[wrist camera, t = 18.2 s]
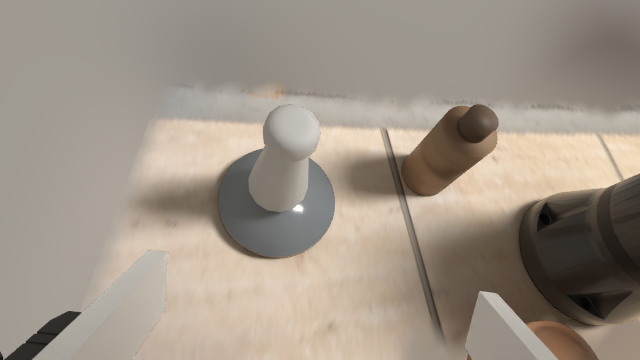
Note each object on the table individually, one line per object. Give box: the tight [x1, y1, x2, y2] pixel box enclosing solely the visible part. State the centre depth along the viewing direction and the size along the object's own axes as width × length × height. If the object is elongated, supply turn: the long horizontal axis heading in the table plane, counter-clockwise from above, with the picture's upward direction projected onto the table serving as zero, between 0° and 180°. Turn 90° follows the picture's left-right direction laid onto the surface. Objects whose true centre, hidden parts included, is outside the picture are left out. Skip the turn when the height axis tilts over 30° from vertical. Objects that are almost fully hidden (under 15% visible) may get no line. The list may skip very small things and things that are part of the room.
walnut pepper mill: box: [401, 104, 498, 196], centre depth 38 cm, size 6×6×12 cm
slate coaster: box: [218, 149, 335, 258], centre depth 38 cm, size 12×12×1 cm
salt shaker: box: [248, 104, 321, 212], centre depth 32 cm, size 6×6×13 cm
